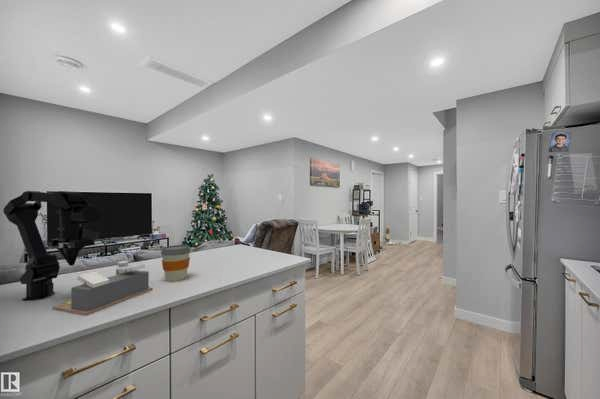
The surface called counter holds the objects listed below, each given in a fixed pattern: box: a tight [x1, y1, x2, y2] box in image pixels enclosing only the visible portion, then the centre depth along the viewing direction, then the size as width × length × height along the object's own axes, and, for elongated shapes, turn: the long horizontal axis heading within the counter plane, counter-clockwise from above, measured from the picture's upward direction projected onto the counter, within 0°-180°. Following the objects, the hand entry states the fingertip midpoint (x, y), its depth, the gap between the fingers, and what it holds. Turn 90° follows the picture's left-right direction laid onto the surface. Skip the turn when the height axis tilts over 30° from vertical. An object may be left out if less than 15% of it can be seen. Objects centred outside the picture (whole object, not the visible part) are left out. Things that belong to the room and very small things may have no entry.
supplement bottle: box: [115, 260, 131, 275], centre depth 109 cm, size 5×5×10 cm
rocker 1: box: [77, 271, 109, 288], centre depth 83 cm, size 8×5×2 cm, turn 72°
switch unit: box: [51, 269, 153, 316], centre depth 91 cm, size 17×24×8 cm
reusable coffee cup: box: [161, 244, 191, 282], centre depth 115 cm, size 13×13×15 cm
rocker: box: [118, 263, 146, 273], centre depth 96 cm, size 8×5×2 cm, turn 73°
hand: (71, 265), depth 90 cm, fingers closed
